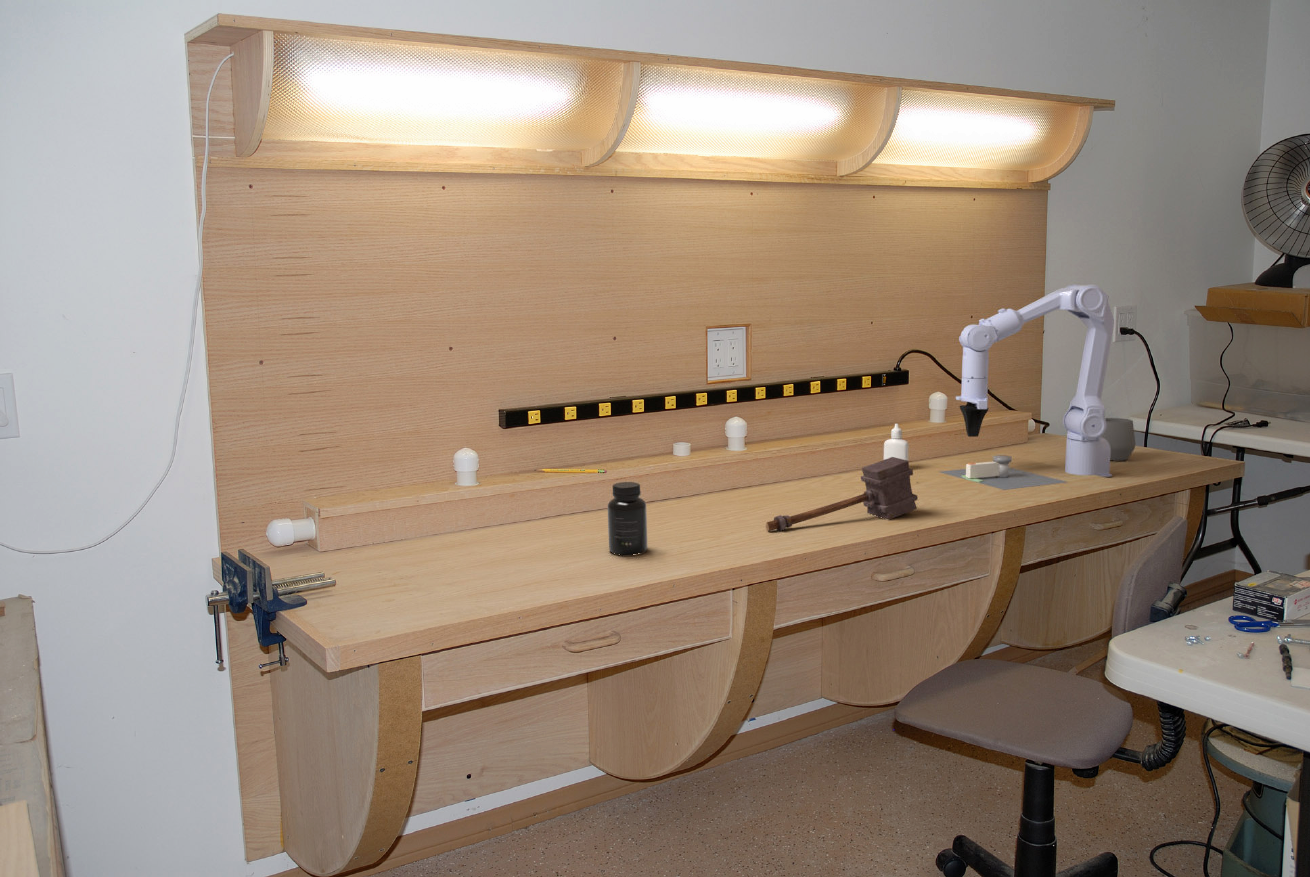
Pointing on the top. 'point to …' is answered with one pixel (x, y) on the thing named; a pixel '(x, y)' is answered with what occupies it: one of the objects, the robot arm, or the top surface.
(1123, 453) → the cup
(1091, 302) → the robot arm
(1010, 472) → the dial board
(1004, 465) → the peg key
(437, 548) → the top surface
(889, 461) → the hammer
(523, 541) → the top surface
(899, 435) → the eye dropper bottle
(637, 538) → the supplement bottle
